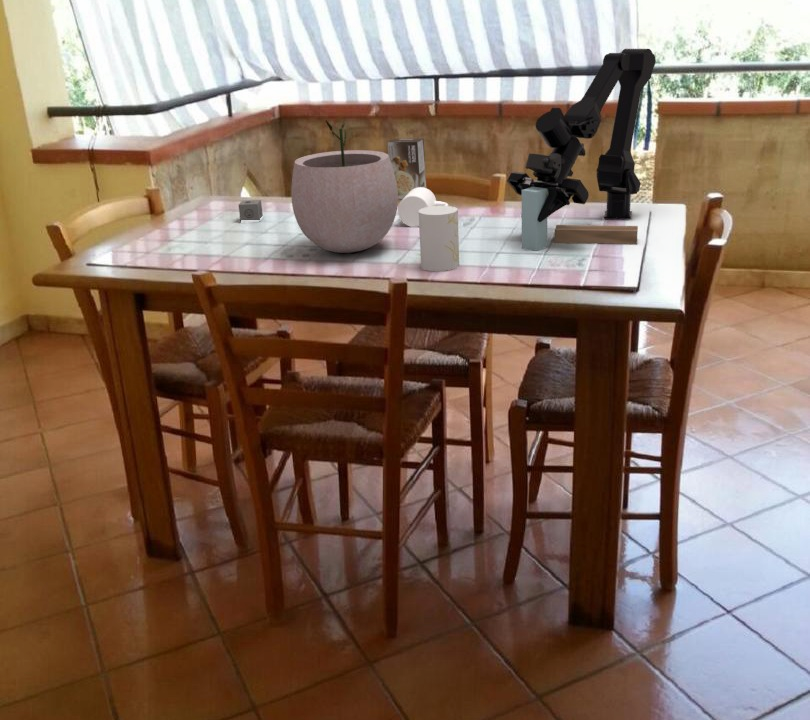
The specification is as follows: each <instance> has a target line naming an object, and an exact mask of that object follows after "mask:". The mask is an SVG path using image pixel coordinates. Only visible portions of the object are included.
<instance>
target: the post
mask: <svg viewBox="0 0 810 720" xmlns="http://www.w3.org/2000/svg"><path fill="white" fill-rule="evenodd" d="M547 197H548V189H546V188H538V187H530V188H527V189H524V190H522V195H521V214H522V217H521V249H524V250H528V251H529V250H530V251H535V252H537V251H540V250H542V249H545V248H548V217H547V218H546V219H544V220H543V221H542V222H539V221H538V220H537V219H538V216H539V213H540V211H541V209H542V207H543V205H544V203H545V201H546V199H547Z"/></svg>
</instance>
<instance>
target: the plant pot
mask: <svg viewBox="0 0 810 720" xmlns="http://www.w3.org/2000/svg"><path fill="white" fill-rule="evenodd" d="M345 119H346V117H344V118H343V122H342V124H341V126H340V128H339V129H338V130H339V136H338V135H337V134H336V133H335V131H334V130H333V126H332V125H331V124H330V123H329V122H328V120H327V119H325V122H326V125H327V127H328V129H329V131H330V132H331V134H332V136H333V138H335V137H336V138H337V139H338V140H339V141H340V142H339V144H340V150H334V151H325V152H319V153H313V154H309V155H305V156H302V157H299V158H297V159H295V160H294V165H293V169H292V176H291V177H292V180H291V206H292V211H293V214H294V218H295V221H296V223H297V224H298V225H297V226H298V227H299V228H300V231H301V232H302V234H303V235H304V236H305V237H306V238H307V239H308V240H309V241H310V242H311V243H313V244H314V245H315V246H316V247H319V248H321V249H323V250H326V251H329V252H334V253H341V254H343V253H345V254H346V253H347V254H350V253H356V252H357V253H358V252H362V251H365V250H366V249H367V250H368V249H369V248H371V247H373V246H375V245H377V244H378V243H379V242H380V241H382V240H383V239H384V238H385V237H386V235H387V234H388V233H389V231H390V230H391V228H392V226H393V224H394V221H395V219H396V216H397V213H398V207H399V199H398V189H397V183H396V178H395V174H394V171H393V167H392V164H391V161H390V158H389V155H388V153H386V152H384V151H377V150H367V149H366V150H365V149H364V150H362V149H356V150H355V149H353V150H351V149H349V150H344V149H345V146H346V139H347V132H346V130H344V134H343V128H344V127H345V124H346V123H345ZM343 135H344V136H343Z"/></svg>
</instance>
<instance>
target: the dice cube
mask: <svg viewBox="0 0 810 720" xmlns="http://www.w3.org/2000/svg"><path fill="white" fill-rule="evenodd" d="M238 212H239V219H240V220H260V218H261V217H262V216H263V217H264V215H263V206H262V200H261V199H247V200H246V199H244V200H241V201H240V203H239V204H238Z"/></svg>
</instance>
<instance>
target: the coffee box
mask: <svg viewBox="0 0 810 720" xmlns="http://www.w3.org/2000/svg"><path fill="white" fill-rule="evenodd" d="M387 152H388V153H387V154H388V156H389V158H390V161H391V164H392V167H393V171H394V174H395V178H396V183H397V189H398V200H403V199H404V197H405V196H406V195H407V194H408V193H409V192H410V191H411V190H413V189H414V188H418V187H423V188H427V177H426V176H427V175H426V158H425V155H426V154H425V139H424V138H393V139H391V140H389V141H388V142H387Z"/></svg>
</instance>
